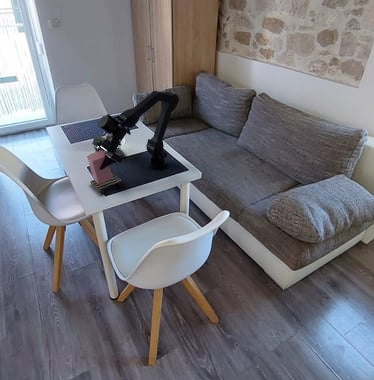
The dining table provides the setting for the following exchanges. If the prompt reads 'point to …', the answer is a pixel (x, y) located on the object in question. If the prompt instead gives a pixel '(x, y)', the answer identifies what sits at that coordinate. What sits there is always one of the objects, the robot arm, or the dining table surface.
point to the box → (95, 164)
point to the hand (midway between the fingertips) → (97, 166)
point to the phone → (118, 152)
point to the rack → (101, 188)
